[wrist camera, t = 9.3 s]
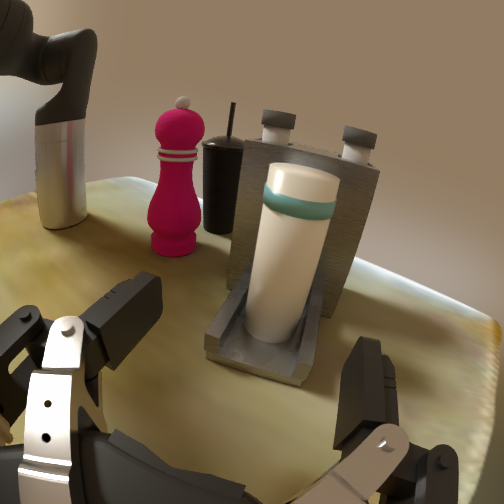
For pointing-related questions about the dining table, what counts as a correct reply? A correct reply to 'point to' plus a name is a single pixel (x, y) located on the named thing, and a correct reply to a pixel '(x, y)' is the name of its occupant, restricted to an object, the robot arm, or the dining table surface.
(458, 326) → the dining table surface
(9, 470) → the robot arm
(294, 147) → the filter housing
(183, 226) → the pepper mill
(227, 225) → the drinking cup
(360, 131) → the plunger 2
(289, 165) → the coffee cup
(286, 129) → the plunger
